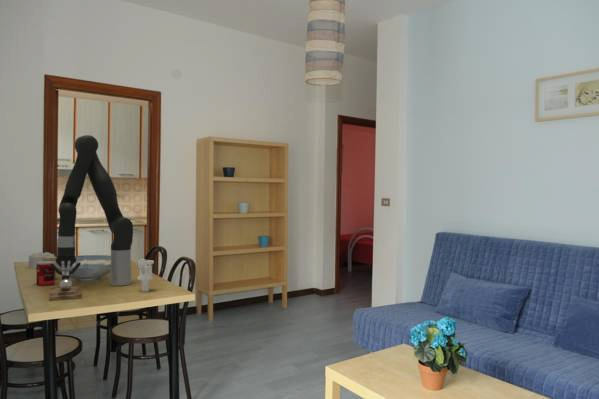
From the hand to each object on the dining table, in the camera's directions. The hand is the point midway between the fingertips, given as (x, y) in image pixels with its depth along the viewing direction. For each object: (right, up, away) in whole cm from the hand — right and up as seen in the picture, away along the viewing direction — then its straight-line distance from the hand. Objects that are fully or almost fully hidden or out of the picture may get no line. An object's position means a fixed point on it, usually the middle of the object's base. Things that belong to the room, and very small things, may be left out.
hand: (65, 283), depth 212 cm
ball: (+4, +1, -7) cm, 8 cm away
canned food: (-15, -3, +12) cm, 20 cm away
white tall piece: (+36, -4, +1) cm, 37 cm away
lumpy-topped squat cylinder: (-45, -2, +62) cm, 77 cm away
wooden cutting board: (+5, -3, -10) cm, 11 cm away
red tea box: (-20, -3, +24) cm, 31 cm away
